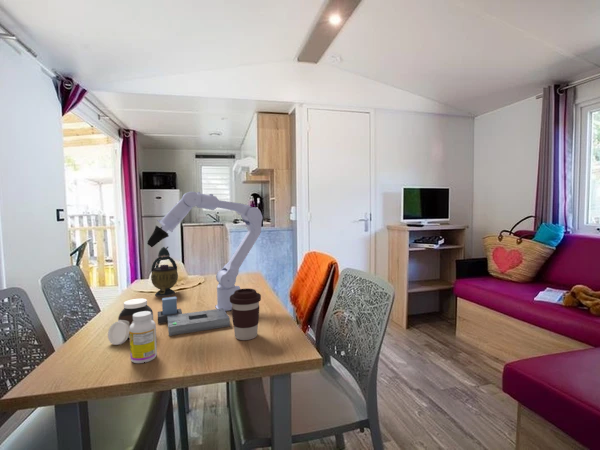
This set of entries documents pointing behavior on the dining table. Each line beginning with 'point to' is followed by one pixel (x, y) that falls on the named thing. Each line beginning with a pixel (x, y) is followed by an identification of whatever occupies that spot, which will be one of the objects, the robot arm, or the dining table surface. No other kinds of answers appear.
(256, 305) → the coffee cup
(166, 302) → the plug
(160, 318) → the holster
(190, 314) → the panel
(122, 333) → the spread jar
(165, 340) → the dining table surface
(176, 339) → the dining table surface
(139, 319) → the supplement bottle
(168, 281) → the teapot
